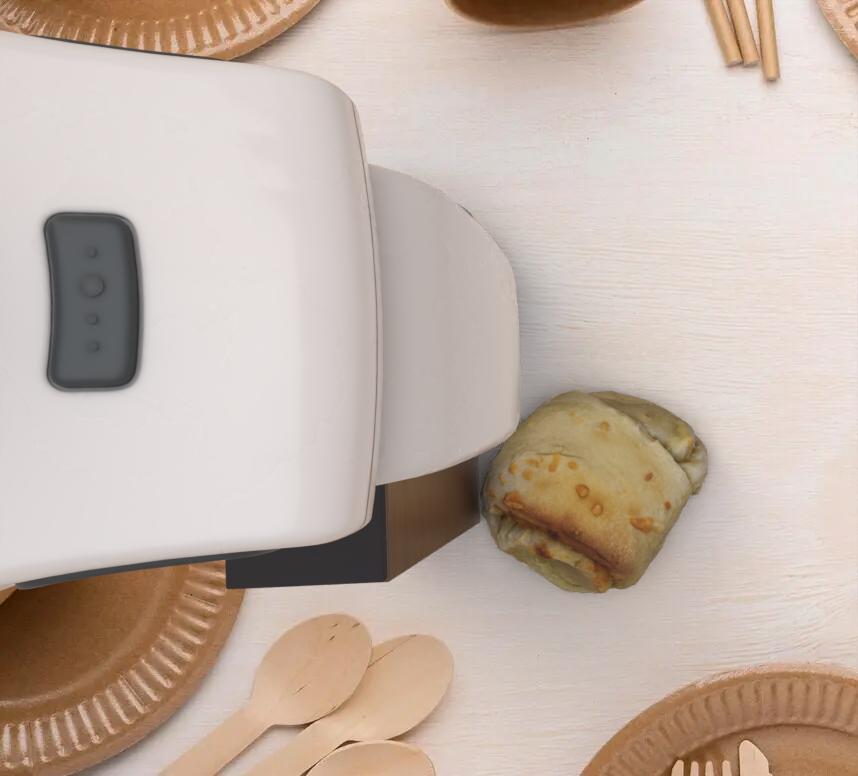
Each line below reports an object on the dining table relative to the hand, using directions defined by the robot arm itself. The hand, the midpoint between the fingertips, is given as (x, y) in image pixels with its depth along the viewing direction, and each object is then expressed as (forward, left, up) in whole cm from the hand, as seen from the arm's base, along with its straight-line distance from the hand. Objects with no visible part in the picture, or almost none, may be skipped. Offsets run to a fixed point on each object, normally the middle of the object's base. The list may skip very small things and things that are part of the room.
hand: (147, 379), depth 27 cm
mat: (0, -4, -13) cm, 14 cm away
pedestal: (0, -4, -39) cm, 39 cm away
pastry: (+10, -5, -39) cm, 41 cm away
